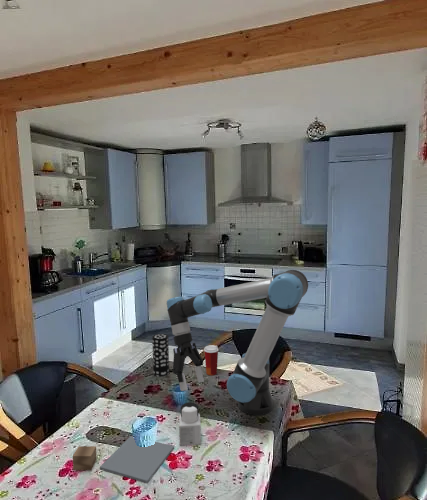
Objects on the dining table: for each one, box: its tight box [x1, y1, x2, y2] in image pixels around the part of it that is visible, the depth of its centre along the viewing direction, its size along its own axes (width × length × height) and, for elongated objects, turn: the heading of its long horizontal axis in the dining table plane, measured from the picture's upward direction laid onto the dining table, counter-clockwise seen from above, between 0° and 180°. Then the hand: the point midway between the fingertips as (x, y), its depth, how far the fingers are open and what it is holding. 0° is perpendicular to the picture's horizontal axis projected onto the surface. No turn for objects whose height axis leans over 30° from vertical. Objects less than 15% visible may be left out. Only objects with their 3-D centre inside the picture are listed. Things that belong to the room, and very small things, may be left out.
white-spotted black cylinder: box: [151, 333, 170, 378], centre depth 189 cm, size 8×8×20 cm
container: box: [178, 401, 202, 446], centre depth 133 cm, size 8×8×13 cm
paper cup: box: [203, 344, 219, 376], centre depth 189 cm, size 8×8×14 cm
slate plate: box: [99, 435, 175, 484], centre depth 123 cm, size 18×18×1 cm
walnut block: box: [72, 445, 98, 471], centre depth 120 cm, size 6×5×5 cm
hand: (193, 386), depth 146 cm, fingers open, 13 cm apart
